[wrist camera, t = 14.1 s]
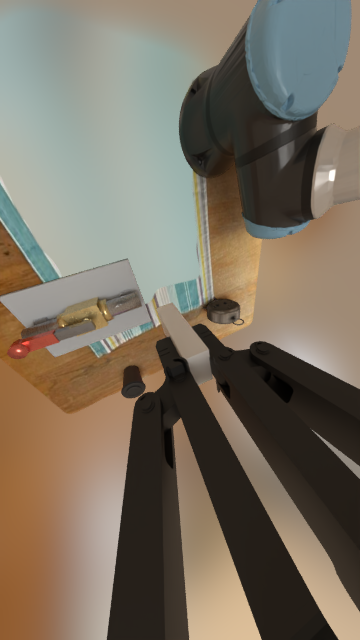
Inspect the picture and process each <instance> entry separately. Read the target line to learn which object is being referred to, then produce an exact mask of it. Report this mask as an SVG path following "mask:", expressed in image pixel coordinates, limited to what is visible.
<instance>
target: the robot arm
mask: <svg viewBox="0 0 360 640" xmlns="http://www.w3.org/2000/svg"><path fill="white" fill-rule="evenodd" d="M350 31H351V0H258V1H257V4H256V5H255V7H254V8H253V10H252V13H251V15H250V16H249V18H248V19H247V21H246V23H245V24H244V26H243V27H242V29H241V30H240V32H239V33H238V35H237V37H236V38H235V40H234V41H233V43H232V44H231V46H230V47H229V49H228V50H227V52H226V54H225V55H224V57H223V58H222V60H221V62H220V63H219V64H218V65H217V66H215V67H212V68H210V69H209V70H206V71H204V72H203V73H201V74H200V75H199V76H198V77H197V78H196V79H195V80H194V82H193V83H192V85H191V87H190V88H189V90H188V92H187V94H186V96H185V98H184V101H183V103H182V107H181V111H180V118H179V135H180V142H181V147H182V150H183V153H184V156H185V158H186V160H187V162H188V164H189V165H190V166H191V168H192V169H193V170H194V171H195V172H196V173H197V174H199V175H201V176H203V177H207V178H212V177H216V176H218V175H220V174H222V173H224V172H226V171H227V170H228V169H229V168H230V167H231V166H232V165H233V163H234V162H235V165H236V173H237V179H238V186H239V192H240V199H241V205H242V217H243V219H244V222H245V227H246V230H247V232H248V233H249V234H250V235H251V236H253V237H256V238H260V239H275V238H281V237H285V236H286V235H288V234H291V235H292V234H295V233H297V232H299V231H301V230H302V229H304V228H305V227H306V226H307V225H308V223H309V222H310V220H313V219H317V218H320V217H321V216H322V215H323V214H324V213H325V212H326V211H327V210H328V209H330V208H331V207H332V206H334V205H337V204H341V203H345V202H350V201H355V200H359V199H360V126H358V127H356V128H354V129H351V130H344V129H342V128H341V127H339V126H338V125H336V124H331V125H329V126H327V127H324V128H322V129H320V130H318V131H317V130H316V124H317V111H318V109H319V108H320V107H321V105H322V104H323V103H324V102H325V101H326V100H327V98H328V97H329V95H330V94H331V92H332V90H333V89H334V87H335V85H336V83H337V81H338V73H339V72H340V71H341V70H342V68H343V65H344V62H345V58H346V55H347V50H348V45H349V39H350ZM156 309H157V312H158V315H159V318H160V321H161V324H162V327H163V330H164V333H165V335H166V337H167V338H164V339H162V340H159V341H157V344H156V349H157V351H158V354H159V357H160V360H161V363H162V365H163V368H164V373H165V375H166V379H165V382H164V384H163V385H162V386H161V387H160V388H159V389H158V390H157V391H156V392H155V393H154V392H147V393H145V394H143V395H142V396H140V397H139V398H138V400H137V401H136V403H135V407H134V413H133V421H132V430H131V438H130V447H129V455H128V464H127V472H126V480H125V489H124V498H123V506H122V515H121V523H120V532H119V540H118V549H117V557H116V566H115V575H114V583H113V592H112V600H111V609H110V617H109V626H108V635H107V640H189V632H188V619H187V608H186V607H187V606H186V593H185V580H184V567H183V554H182V542H181V541H182V540H181V528H180V514H179V502H178V489H177V475H176V462H175V449H174V436H173V425H174V424H175V423H176V422H177V421H178V420H179V419H180V418H182V421H183V424H184V427H185V430H186V432H187V435H188V437H189V441H190V443H191V446H192V449H193V452H194V454H195V457H196V460H197V463H198V465H199V468H200V471H201V473H202V476H203V479H204V482H205V485H206V487H207V490H208V493H209V496H210V498H211V501H212V504H213V507H214V509H215V512H216V515H217V518H218V520H219V523H220V526H221V528H222V531H223V534H224V537H225V540H226V542H227V545H228V548H229V551H230V553H231V556H232V559H233V562H234V565H235V567H236V570H237V573H238V576H239V578H240V581H241V584H242V587H243V589H244V592H245V595H246V597H247V600H248V603H249V606H250V608H251V611H252V614H253V617H254V619H255V622H256V625H257V628H258V630H259V633H260V636H261V639H262V640H338V638H337V637H336V635H335V634H334V632H333V630H332V629H331V627H330V626H329V624H328V623H327V621H326V619H325V618H324V616H323V614H322V613H321V611H320V609H319V607H318V606H317V604H316V602H315V600H314V598H313V597H312V595H311V593H310V591H309V589H308V588H307V586H306V584H305V582H304V580H303V578H302V576H301V574H300V573H299V571H298V569H297V567H296V565H295V563H294V562H293V560H292V558H291V556H290V554H289V552H288V551H287V549H286V547H285V545H284V543H283V541H282V539H281V538H280V536H279V534H278V532H277V530H276V529H275V527H274V525H273V523H272V521H271V519H270V517H269V515H268V514H267V512H266V510H265V508H264V506H263V505H262V503H261V501H260V499H259V497H258V495H257V493H256V492H255V490H254V488H253V486H252V484H251V482H250V480H249V479H248V477H247V475H246V473H245V471H244V470H243V468H242V466H241V464H240V462H239V460H238V458H237V456H236V455H235V453H234V451H233V450H232V447H231V445H230V444H229V442H228V440H227V438H226V436H225V434H224V433H223V431H222V429H221V427H220V425H219V423H218V421H217V420H216V418H215V416H214V414H213V413H212V411H211V408H210V407H209V405H208V403H207V401H206V399H205V398H204V396H203V394H202V392H201V390H200V388H199V386H198V385H200V384H202V383H204V382H206V381H209V380H211V379H212V374H213V376H214V377H215V379H216V384H217V390H218V392H220V390H221V392H222V393H223V395H224V396H225V398H226V399H227V401H228V402H229V404H230V405H231V407H232V409H233V410H234V412H235V413H236V415H237V416H238V418H239V419H240V421H241V422H242V424H243V425H244V427H245V428H246V430H247V432H248V433H249V435H250V436H251V438H252V439H253V441H254V442H255V444H256V445H257V447H258V448H259V450H260V451H261V453H262V454H263V456H264V457H265V459H266V460H267V462H268V463H269V465H270V467H271V468H272V470H273V471H274V473H275V474H276V475H277V477H278V479H279V480H280V482H281V483H282V485H283V486H284V488H285V489H286V491H287V492H288V494H289V496H290V497H291V499H292V500H293V501H294V503H295V505H296V506H297V508H298V509H299V511H300V512H301V514H302V515H303V517H304V519H305V520H306V522H307V523H308V525H309V526H310V528H311V529H312V531H313V532H314V534H315V535H316V537H317V538H318V540H319V541H320V543H321V544H322V546H323V547H324V549H325V551H326V552H327V554H328V555H329V557H330V559H331V561H332V562H333V565H334V567H335V570H336V573H337V575H338V576H339V579H340V580H341V582H342V584H343V586H344V587H345V589H346V591H347V592H348V594H349V596H350V597H351V599H352V600H353V602H354V603H355V605H356V607H357V608H358V610H359V611H360V479H359V478H358V477H357V476H356V475H355V474H354V473H353V472H352V471H351V470H350V469H349V468H348V467H347V466H346V465H345V464H344V463H343V462H342V461H341V459H340V458H339V457H338V456H337V455H336V454H335V453H334V452H333V451H332V450H331V449H330V448H329V447H328V446H327V445H326V444H325V443H324V442H323V441H322V440H321V439H320V438H319V437H318V436H317V435H316V434H315V433H314V432H313V431H315V432H316V433H317V434H319V435H320V436H321V437H322V438H324V439H325V440H326V441H328V442H329V443H330V444H332V445H333V446H334V447H336V448H337V449H338V450H339V451H341V452H342V453H343V454H345V455H346V456H347V457H349V458H350V459H352V460H353V461H354V462H355V463H356V464H358V465H359V466H360V389H358V388H356V387H354V386H352V385H350V384H348V383H346V382H344V381H342V380H340V379H338V378H336V377H334V376H332V375H331V374H329V373H327V372H324V371H322V370H321V369H319V368H317V367H314V366H313V365H311V364H309V363H307V362H305V361H303V360H301V359H299V358H297V357H295V356H293V355H291V354H289V353H287V352H285V351H283V350H281V349H279V348H277V347H275V346H274V345H272V344H269V343H267V342H262V341H259V342H254V343H252V344H251V346H250V349H246V350H239V351H235V350H233V349H231V348H228V347H225V346H224V345H223V344H222V343H221V342H220V341H219V340H218V339H217V337H216V336H215V335H214V334H213V333H212V332H211V331H210V330H209V329H208V328H207V327H206V326H205V325H202V324H198V325H195V326H193V327H191V326H190V325H189V323H188V322H187V321H186V320H185V318H184V317H183V316H182V314H181V313H180V312H179V311H178V309H177V308H176V307H175V306H174V304H173V303H170V304H167V305H164V306H161V307H159V308H156ZM310 428H311V429H312V430H313V431H312V430H311V429H310Z"/></svg>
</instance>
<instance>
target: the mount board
mask: <svg viewBox="0 0 360 640" xmlns="http://www.w3.org/2000/svg"><path fill="white" fill-rule="evenodd" d="M128 289H130V291H131V293H133V292H137V294H138V297H139V299H140V302H141V304H142V307H139V308H137V309H134V310H131V311H128V312H125V313H123V314H120V315H117V316H114V317H115V319H113V320H111V321H109V324H108V326H106V327H103V328H100V329H97V330H95V331H92V332H89V333H86V334H84V335H81V336H78V337H77V336H74V337H71V338H68V339H65V340H61V341H60V342H59V343H56V344H53V345H50V346H47V347H46V348H47V349H48V350H49V352H50V353H51V354H52V355H53V356H54V357H57V356H60V355H63V354H65V353H68V352H70V351H73V350H76V349H78V348H81V347H84V346H86V345H89V344H92V343H94V342H97V341H100V340H102V339H105V338H108V337H110V336H113V335H116V334H118V333H121V332H124V331H126V330H129V329H131V328H134V327H137V326H139V325H142V324H145V323H147V322H150V321H151V319H150V316H149V313H148V311H147V308H146V305H145V303H144V300H143V297H142V295H141V292H140V290H139V287H138V284H137V282H136V279H135V276H134V274H133V271H132V269H131V266H130V263H129V261H128V259H124V260H120V261H117V262H114V263H111V264H107V265H103V266H100V267H96V268H93V269H90V270H86V271H83V272H79V273H76V274H72V275H69V276H66V277H62V278H59V279H55V280H52V281H49V282H45V283H42V284H38V285H35V286H31V287H28V288H25V289H21V290H18V291H14V292H11V293H8V294H4V295H1V296H0V301H1V302H2V303H3V304H4V305H5V306H6V307H7V308H8V309H9V310H10V311H11V312H12V313H13V314H14V316H15V317H16V318H17V319H18V320H19V321H20V322H21V323H22V324H23V325H24V326H25V327H26V328H28V327H31V326H34V324H33V323H32V322H33V321H34V320H37V319H40V318H43V317H47V318H48V319H49V320H52V319H55V318H57V315H58V314H61V313H64V311H65V310H66V308H67V307H68V306H71V305H74V304H77V303H80V302H83V301H86V300H89V299H92V298H95V297H99V299H100V300H103V299H106V300H107V301H109V300H112V299H115V298H118V297H121V296H120V294H119V292H122V291H125V290H128Z"/></svg>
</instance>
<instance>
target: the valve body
mask: <svg viewBox="0 0 360 640" xmlns="http://www.w3.org/2000/svg"><path fill="white" fill-rule="evenodd" d="M119 294H120V296H121V297H118V298H115V299H112V300H109V301H107V300H106V299H103V300H100V299H99V297H95V298H92V299H89V300H86V301H83V302H80V303H77V304H74V305H71V306H68V307H67V308H66V310H65V311H64V313H61V314H58V315H57V318H55V319H52V320H49V319H48V318H47V317H43V318H40V319H37V320H34V321H33V322H32V323H33V324H34V326H31V327H28V328H25V329H23V330H22V332H21V336H22V338H23V339H25V338H28V337H32V336H35V335H38V334H41V333H45V332H48V331H51V330H57V329H61V328H64V327H67V326H71V325H74V324H77V323H80V322H82V320H83V319H84V318H88V319H92V320H93V322H94V323H95V325H96V330H97V329H100V328H103V327H106V326H108V324H109V321H111V320H113V319H115V317H114V316H117V315H120V314H123V313H125V312H128V311H131V310H134V309H137V308H139V307H142V304H141V302H140V299H139V297H138V294H137V292H133V293H131V291H130V289H128V290H125V291H122V292H119ZM93 331H95V330H93ZM90 332H92V331H90ZM87 333H89V332H87ZM84 334H86V333H83V334H80V335H77V337H78V336H81V335H84Z"/></svg>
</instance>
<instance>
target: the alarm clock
mask: <svg viewBox="0 0 360 640" xmlns="http://www.w3.org/2000/svg"><path fill="white" fill-rule="evenodd" d="M214 299H215V301H212V302H210V303H209V304H208V306H207V308H205V307H203V309H207V317H208V319H209V320H210V321H212V322H214V323H218V324H230V323H233V324H235V323H234V322H236V321H237V320H238V319H239V318H240V305H239V304H238V303H237V302H235V301H233V300H228V299H219V300H217V299H216V298H215V297H214ZM240 320H242V319H240ZM242 321H243V323H242V324H244V320H242ZM242 324H235V325H242Z"/></svg>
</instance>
